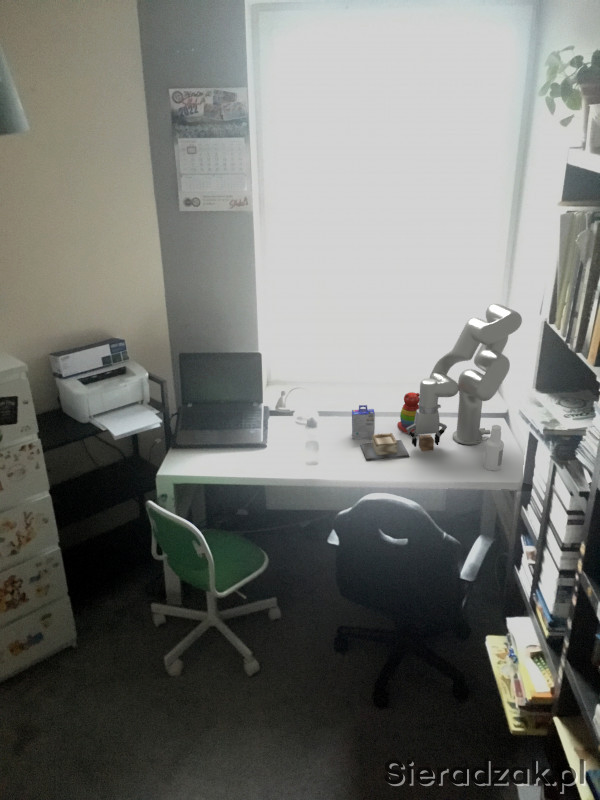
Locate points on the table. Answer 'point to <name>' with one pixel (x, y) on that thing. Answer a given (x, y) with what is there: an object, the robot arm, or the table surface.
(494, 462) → the spray bottle
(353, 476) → the table surface
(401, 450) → the build base
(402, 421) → the stacking bear
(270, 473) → the table surface
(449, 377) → the robot arm
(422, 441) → the walnut block
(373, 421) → the ink cartridge box
